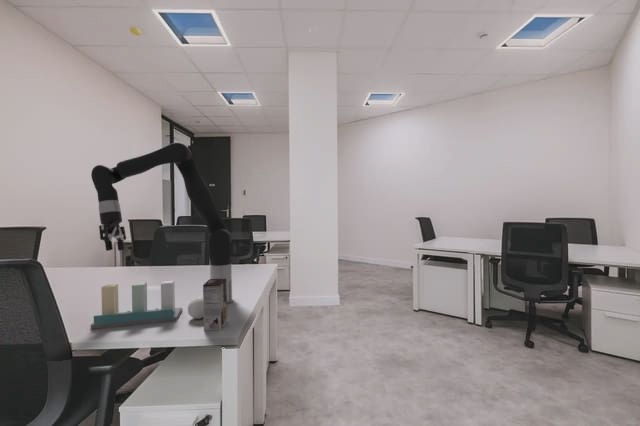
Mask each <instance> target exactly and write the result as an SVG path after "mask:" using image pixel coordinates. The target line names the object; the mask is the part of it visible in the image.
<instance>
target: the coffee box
mask: <svg viewBox="0 0 640 426" xmlns="http://www.w3.org/2000/svg"><path fill="white" fill-rule="evenodd" d="M202 288H203V289H202V291H203V293H202V296H203V297H202V298H203V304H204V317H203V331H205V332H207V331H222V330H223V328H224V327H225V326H226V323H227V322H228V303H227V285H226V279H210V278H209V279H208V280H207V281H206V282H205V283H204V284H203V285H202Z"/></svg>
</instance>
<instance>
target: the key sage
mask: <svg viewBox="0 0 640 426" xmlns="http://www.w3.org/2000/svg"><path fill="white" fill-rule="evenodd" d="M131 306H132V308H131V309H132V310H131V312H132V313H133V312H145V311H147V310H148V283H147V282H146V281H145V282H135V283H134V284H132V285H131Z"/></svg>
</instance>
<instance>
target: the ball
mask: <svg viewBox="0 0 640 426" xmlns="http://www.w3.org/2000/svg"><path fill="white" fill-rule="evenodd" d="M187 313H188V315H189V316H190V317H191V318H192V319H197V320H200V319H202V318H203V319H204V304H203V297H202V296H201V297H199V296H198V297H195V298H193V299H192V300H191V301H190V302H189V303H188V305H187Z"/></svg>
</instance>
